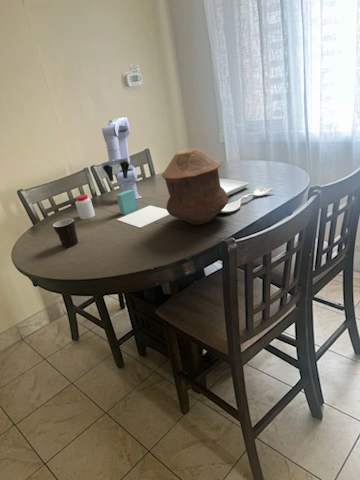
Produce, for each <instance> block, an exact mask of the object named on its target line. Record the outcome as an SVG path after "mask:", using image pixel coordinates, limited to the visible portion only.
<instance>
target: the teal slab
mask: <svg viewBox="0 0 360 480" xmlns="http://www.w3.org/2000/svg"><path fill="white" fill-rule="evenodd" d="M115 197H116V201H117V203H118V205H117V206H118V208H119V212H120V214H121V215H124V216H126V215H129V214H131V213H133V212H136V211H138V210H139V207H138V202H137V199H136V197H135V193H134V190H127V191H125V192H122V193H121V192H120V193H116V194H115Z"/></svg>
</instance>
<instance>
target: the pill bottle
mask: <svg viewBox="0 0 360 480" xmlns="http://www.w3.org/2000/svg"><path fill="white" fill-rule="evenodd" d="M75 199H76V201H75V207H76V210H77V213H78V215H79V219H80V220H88V219H92V218H94V217H95V216H96V211H95V208H94V206H93V203H92V199H91V198H90V197H88V194H86V193H85V194H80V195H79V194H78V196H76V197H75Z"/></svg>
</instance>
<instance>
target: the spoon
mask: <svg viewBox="0 0 360 480" xmlns="http://www.w3.org/2000/svg"><path fill="white" fill-rule="evenodd" d="M274 189H275V188H274V187H272V188H271V187H270V188H264V187H262V186H261V185H258V186H257V187H256V189H254V191H253V193H248V194H246V195H242V196H241V197H240V198H239V199H237V200H235V201H233V202H229V203H227V204H226V206H225V207H224V208H223V209H222V210H221V211H220V212H219V213H222V214H223V213H225V214H227V213H232V212H235V211H237V210H238V209H239V208H240V207H241V203H242V201H243V200H245V199H248V198H249V197H263V196H265V195H266V194H269V193H271V192H272V191H274Z"/></svg>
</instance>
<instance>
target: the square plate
mask: <svg viewBox="0 0 360 480" xmlns="http://www.w3.org/2000/svg"><path fill="white" fill-rule="evenodd" d="M219 181H220V186H221V187H222V188H223V189H224V191H225V192H226V194H227V196H228V197H229V196H230V195H233V194H235V193H237V192H239V191H241V190H243V189H246V187H248V186H249V184H250V182H249V181H241V180H234V179H227V178H219Z"/></svg>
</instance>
